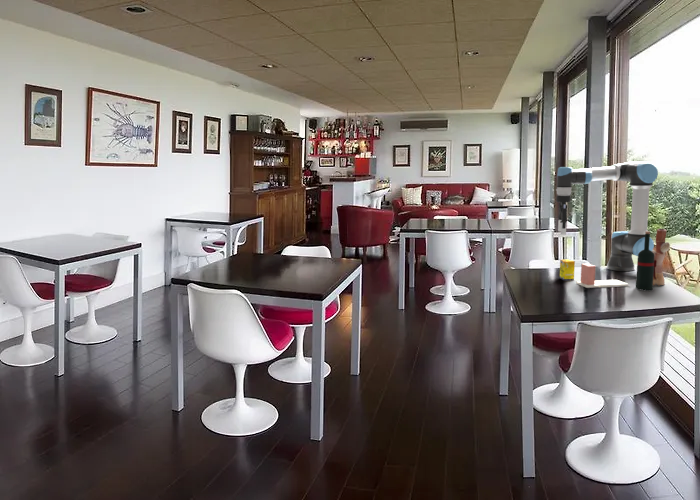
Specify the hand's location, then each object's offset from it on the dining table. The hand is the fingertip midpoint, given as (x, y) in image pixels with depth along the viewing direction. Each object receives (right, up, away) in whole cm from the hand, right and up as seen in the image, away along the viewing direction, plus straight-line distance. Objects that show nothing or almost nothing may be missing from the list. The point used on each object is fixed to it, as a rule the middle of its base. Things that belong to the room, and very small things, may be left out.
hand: (561, 232), depth 324 cm
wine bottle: (+34, -30, -25) cm, 52 cm away
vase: (+45, -28, -16) cm, 56 cm away
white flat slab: (+20, -28, -14) cm, 37 cm away
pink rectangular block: (+8, -29, -15) cm, 34 cm away
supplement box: (+3, -26, +1) cm, 27 cm away
